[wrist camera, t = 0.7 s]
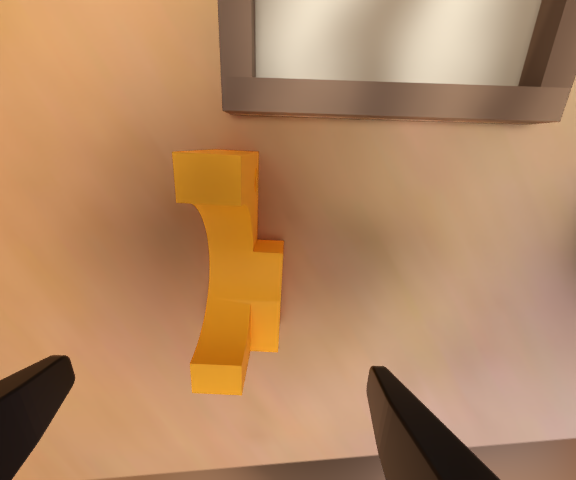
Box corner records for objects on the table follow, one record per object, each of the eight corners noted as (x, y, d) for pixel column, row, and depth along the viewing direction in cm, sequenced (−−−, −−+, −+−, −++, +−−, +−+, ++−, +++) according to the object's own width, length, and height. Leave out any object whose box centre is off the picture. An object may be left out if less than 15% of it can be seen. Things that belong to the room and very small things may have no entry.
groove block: (602, -119, 12) (656, -165, 10) (528, 124, 15) (559, 121, 14) (221, -132, 12) (209, -181, 10) (230, 114, 15) (222, 110, 14)
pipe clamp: (279, 321, 20) (275, 396, 14) (221, 318, 20) (192, 392, 14) (288, 153, 16) (287, 158, 10) (216, 149, 16) (171, 151, 10)
